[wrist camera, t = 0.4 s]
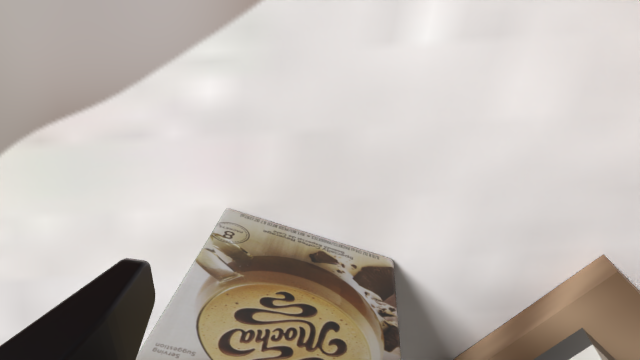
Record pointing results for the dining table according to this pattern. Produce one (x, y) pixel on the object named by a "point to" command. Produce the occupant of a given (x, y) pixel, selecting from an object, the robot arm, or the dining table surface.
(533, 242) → the dining table surface
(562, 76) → the dining table surface
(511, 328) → the pin board
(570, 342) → the grey sleeve
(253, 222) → the coffee box
